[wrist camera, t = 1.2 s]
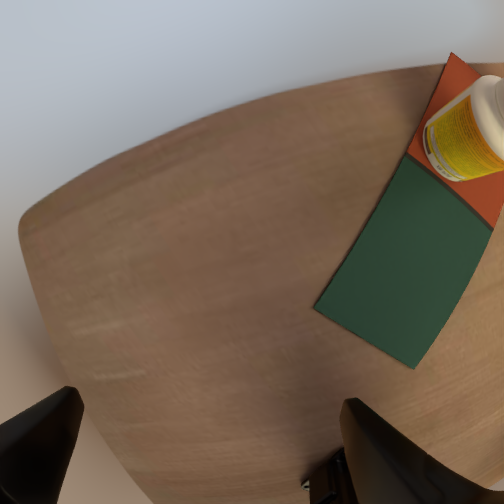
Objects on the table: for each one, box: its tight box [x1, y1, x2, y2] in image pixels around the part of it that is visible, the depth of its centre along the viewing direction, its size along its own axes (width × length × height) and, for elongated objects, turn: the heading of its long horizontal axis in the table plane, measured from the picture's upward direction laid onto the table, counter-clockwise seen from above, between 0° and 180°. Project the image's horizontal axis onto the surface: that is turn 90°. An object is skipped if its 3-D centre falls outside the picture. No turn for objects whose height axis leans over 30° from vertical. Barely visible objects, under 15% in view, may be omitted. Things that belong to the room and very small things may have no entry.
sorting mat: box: [314, 52, 504, 369], centre depth 18 cm, size 10×26×1 cm, turn 148°
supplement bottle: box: [423, 75, 504, 182], centre depth 13 cm, size 6×6×10 cm
